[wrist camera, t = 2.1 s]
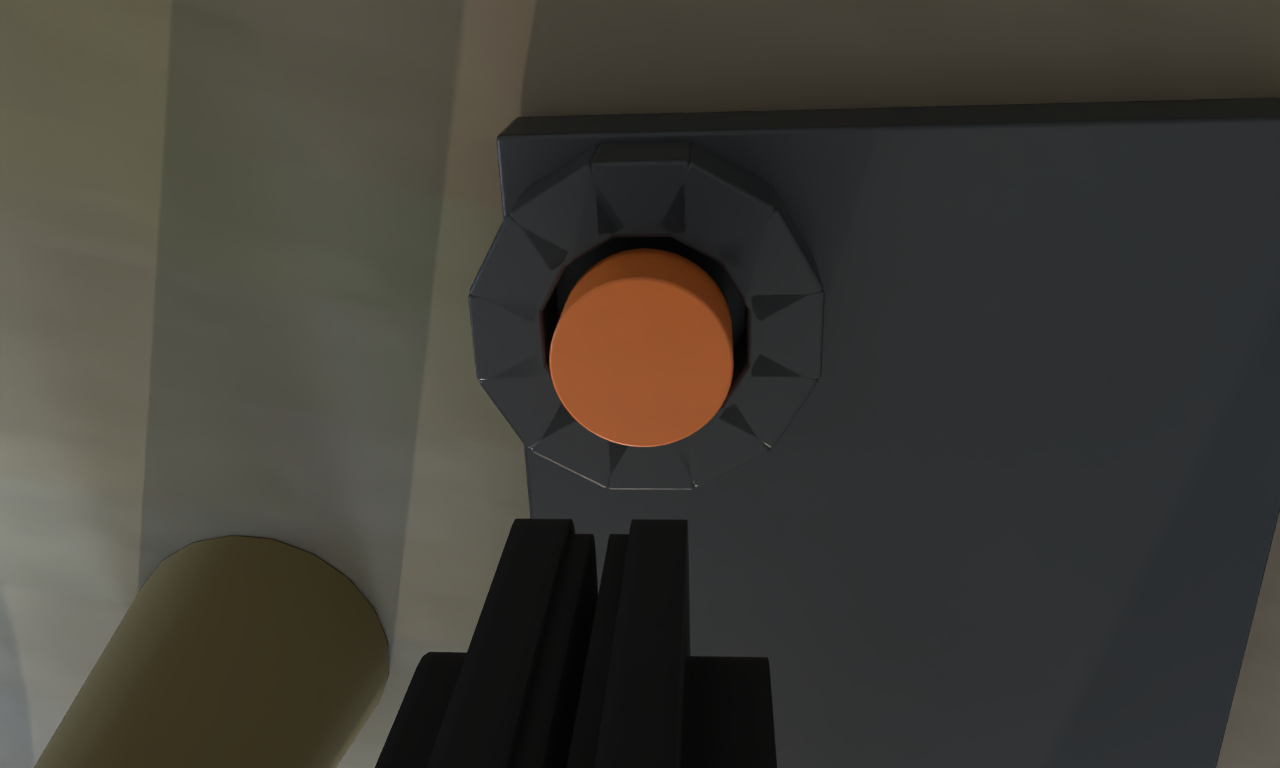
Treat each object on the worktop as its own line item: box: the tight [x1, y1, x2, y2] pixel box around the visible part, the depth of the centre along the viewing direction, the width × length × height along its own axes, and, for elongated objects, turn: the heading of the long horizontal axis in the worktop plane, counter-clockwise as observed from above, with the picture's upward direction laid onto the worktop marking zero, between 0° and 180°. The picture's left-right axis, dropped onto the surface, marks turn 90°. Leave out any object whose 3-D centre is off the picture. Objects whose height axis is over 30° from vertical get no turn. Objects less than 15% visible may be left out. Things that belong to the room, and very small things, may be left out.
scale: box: [468, 98, 1280, 768], centre depth 20 cm, size 16×14×4 cm
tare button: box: [549, 248, 734, 447], centre depth 16 cm, size 3×3×2 cm
